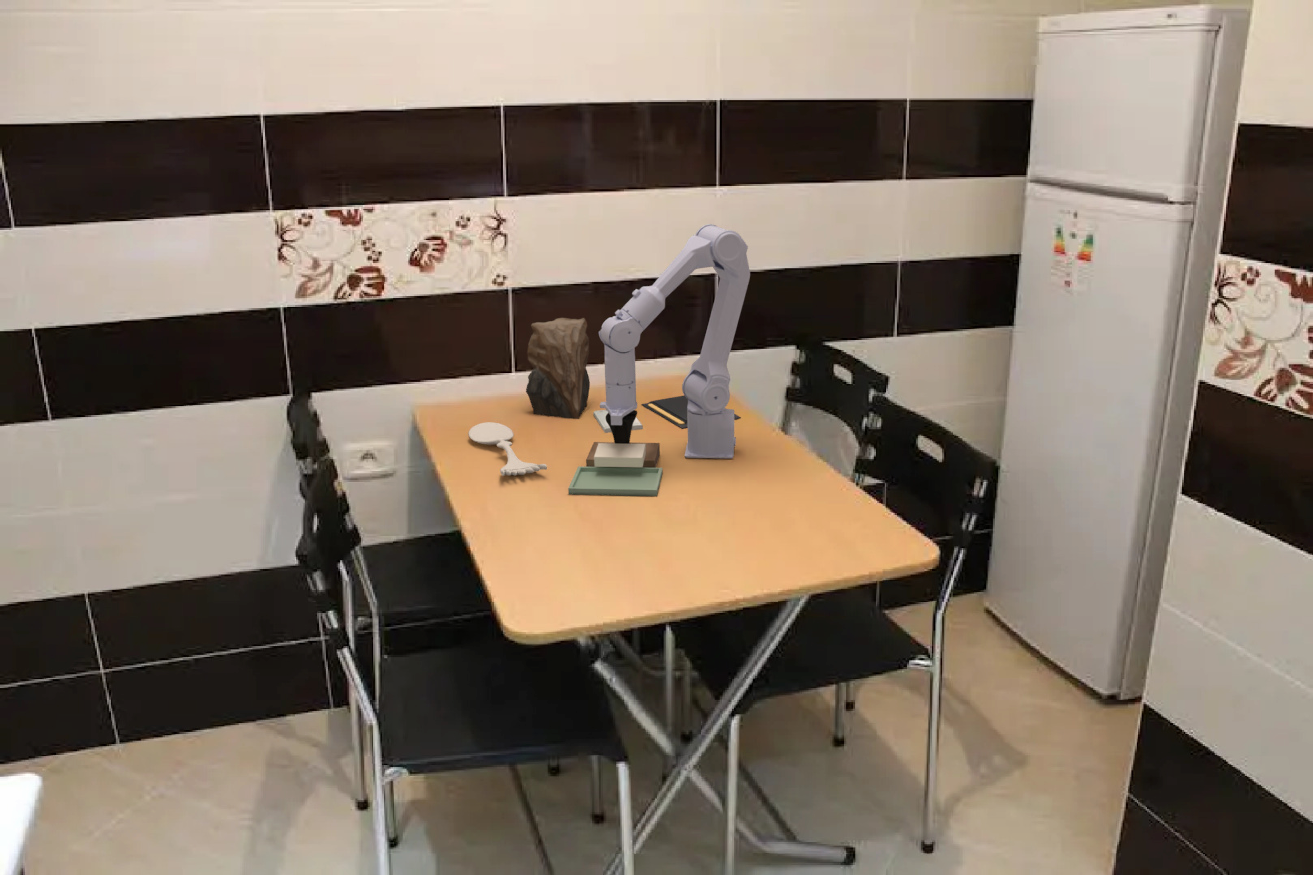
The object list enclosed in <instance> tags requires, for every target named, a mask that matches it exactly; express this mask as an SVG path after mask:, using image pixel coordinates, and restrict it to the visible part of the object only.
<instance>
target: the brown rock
mask: <svg viewBox="0 0 1313 875" xmlns="http://www.w3.org/2000/svg"><path fill="white" fill-rule="evenodd" d="M530 328H531V330H532V334H531V335H530V338H529V340H528V343H527V349H526V351H527V352H526V354H527V361H528V362H529V363H530V365H531V366H532V369H531V371H530V373H529V375H527V378H528V379H527V380H528V383H527V384H526V389H525V393H526V394H527V396H528V399H529V401H530V404H531V408H532V409H533V410H532V412H533V413H532V414H533V415H537V416H547V417H555V418H561V419H572V420H580V417H581V415H582V414H583V412H585V410H586V408H587V407H588V400H589V396H590V395H589V394H590V385H591V383H590V377H589V374H588V370H587V364H588V360H589V355H590V339H589V336H588V334H587V328H588V322H587V320H586V318H585V317H582V318H578V319H577V318H569V317H568V318H567V317H559V318H557V317H556V318H554V320H552V321H551V320H550V321H549V320H548V321H546V322H541V321H540V322H539V321H538V322H537V321H536V322H532V323H531V324H530Z"/></svg>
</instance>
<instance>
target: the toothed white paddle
mask: <svg viewBox="0 0 1313 875" xmlns="http://www.w3.org/2000/svg"><path fill="white" fill-rule="evenodd" d="M514 436H515V433H514V431H513V430H512V429H511V428H510V427H509V426H508V425H504V424H503V423H498V422H489V421H488V422H481V423H478V424H476V425H473V426H472V427H471V428H470V429H469V430H468V437H469V439H471V440H472V441H473V442H476V443H478V444H481V445H489V446H492V445H496V446H497V447H498V448H500V449H503V450H505V453H506V455H507V463H506V464H505V465H503V467H501V468H500V469H499V471H500V474H501V476H503V477H505V476H517V475H519V476H523V475H526V474H533V473H534V472H540V471H541V470H547V469H548V466H547V463H541V464H540V463H539V464H538V463H532V462H525V461H522V460H520V459H519V458H518V457H517V455H516V453H515V452H514V450H513V449H512V447H511V446H512V445H513V442H511V441H510V440H512V439H513V438H514Z"/></svg>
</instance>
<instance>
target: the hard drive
mask: <svg viewBox="0 0 1313 875" xmlns="http://www.w3.org/2000/svg"><path fill="white" fill-rule="evenodd" d="M607 414H608V411H607V410H606V409H603V410H602V409H600V410H594V411H593V417H594V419H595V420H596V422H597V423H598V424H599V427H600V428H601V429H602V431H603V432H604V433H605V434H606V433H607V434H608V433H612V431H611V429H610V427H609V425H608V423H607V422H606V415H607ZM638 430H639V431H640V430H644V427H643V424H642V422H641V421H640V420H639V419H638V417H637V416H636V418H635V420H634V422H633V426H632V430H631V431H638Z"/></svg>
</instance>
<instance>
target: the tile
mask: <svg viewBox="0 0 1313 875" xmlns="http://www.w3.org/2000/svg"><path fill="white" fill-rule="evenodd" d="M645 455H646V444H615V443H598V446H597V449H596V452H595V455H594V466H595V467H643V463H644V459H645Z"/></svg>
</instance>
